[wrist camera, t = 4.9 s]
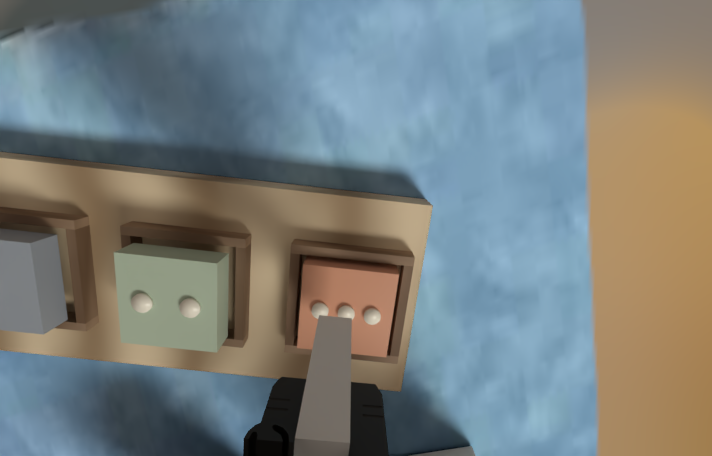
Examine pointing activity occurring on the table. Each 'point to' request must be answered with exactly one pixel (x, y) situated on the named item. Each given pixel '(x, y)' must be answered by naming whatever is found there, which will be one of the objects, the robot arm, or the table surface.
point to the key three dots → (349, 300)
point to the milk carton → (451, 452)
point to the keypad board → (209, 233)
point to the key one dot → (30, 282)
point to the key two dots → (172, 296)
